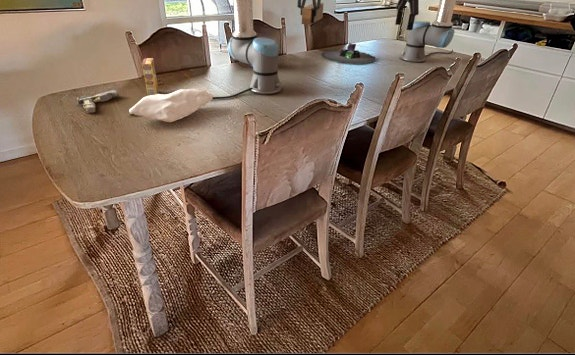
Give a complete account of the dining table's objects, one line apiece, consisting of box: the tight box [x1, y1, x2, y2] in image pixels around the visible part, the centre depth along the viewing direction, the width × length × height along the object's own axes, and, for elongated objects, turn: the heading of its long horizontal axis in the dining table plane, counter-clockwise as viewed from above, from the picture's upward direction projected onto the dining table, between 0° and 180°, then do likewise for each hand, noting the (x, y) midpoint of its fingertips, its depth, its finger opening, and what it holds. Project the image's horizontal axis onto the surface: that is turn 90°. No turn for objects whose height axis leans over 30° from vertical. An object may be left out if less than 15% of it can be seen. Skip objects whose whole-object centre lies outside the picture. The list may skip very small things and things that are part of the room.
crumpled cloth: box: [129, 88, 214, 123], centre depth 147 cm, size 24×35×9 cm
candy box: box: [141, 57, 160, 96], centre depth 163 cm, size 9×4×15 cm, turn 13°
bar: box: [301, 1, 324, 26], centre depth 208 cm, size 26×5×8 cm, turn 160°
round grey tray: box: [321, 42, 377, 64], centre depth 234 cm, size 35×35×9 cm
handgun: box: [76, 89, 120, 114], centre depth 155 cm, size 3×18×15 cm
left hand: (307, 22), depth 203 cm, fingers closed on bar, 5 cm apart
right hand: (403, 27), depth 184 cm, fingers open, 13 cm apart
